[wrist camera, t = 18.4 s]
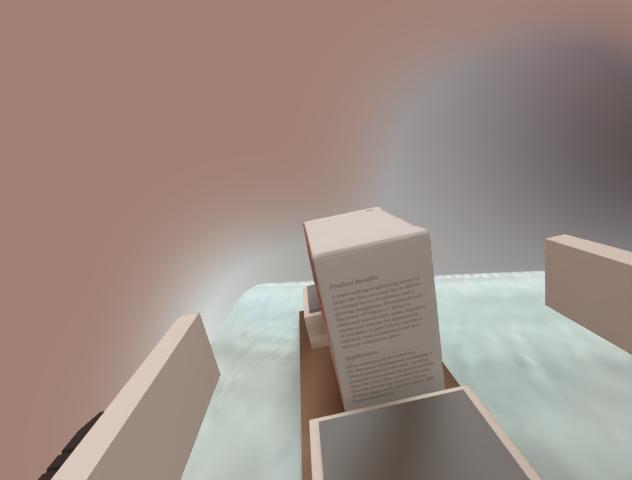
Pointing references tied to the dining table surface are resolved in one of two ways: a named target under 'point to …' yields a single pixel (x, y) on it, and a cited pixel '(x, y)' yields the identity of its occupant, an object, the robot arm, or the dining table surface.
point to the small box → (377, 305)
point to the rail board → (395, 426)
